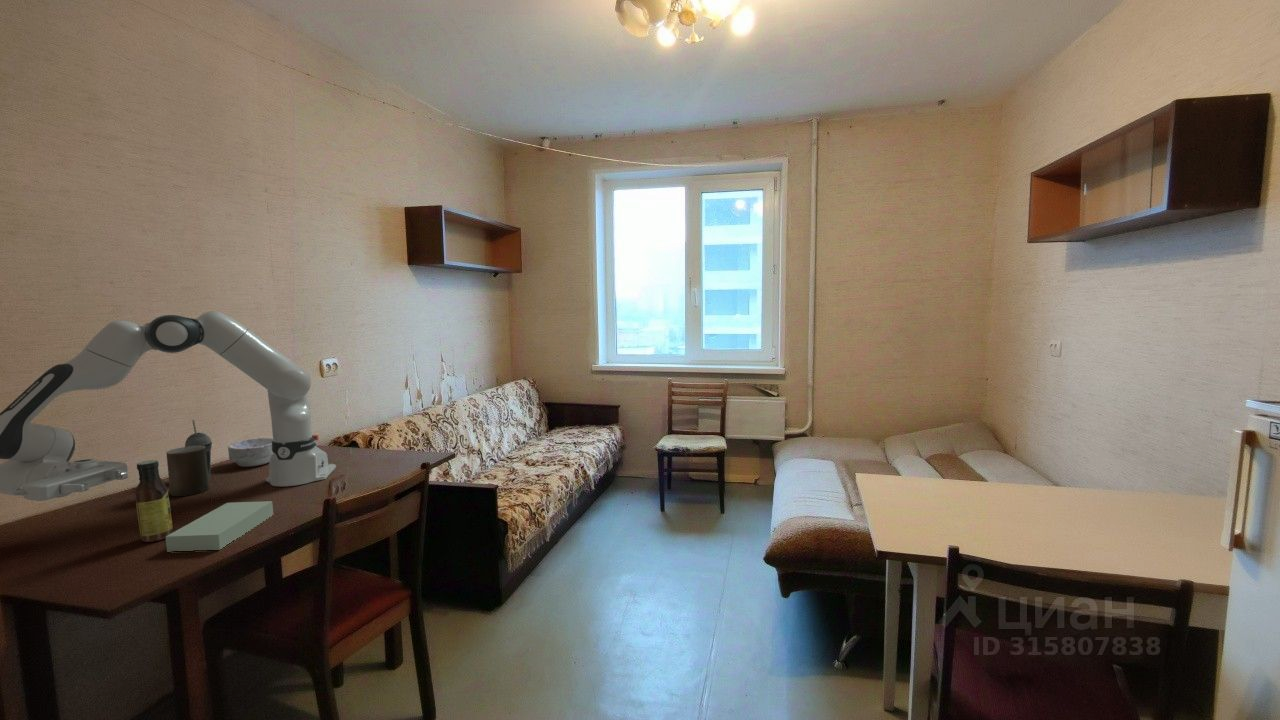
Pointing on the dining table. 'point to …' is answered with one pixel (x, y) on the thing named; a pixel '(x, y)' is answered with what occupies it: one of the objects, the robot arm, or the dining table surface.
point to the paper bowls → (251, 452)
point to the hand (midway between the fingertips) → (106, 481)
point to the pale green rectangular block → (219, 526)
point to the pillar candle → (187, 470)
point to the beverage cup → (201, 444)
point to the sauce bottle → (152, 503)
